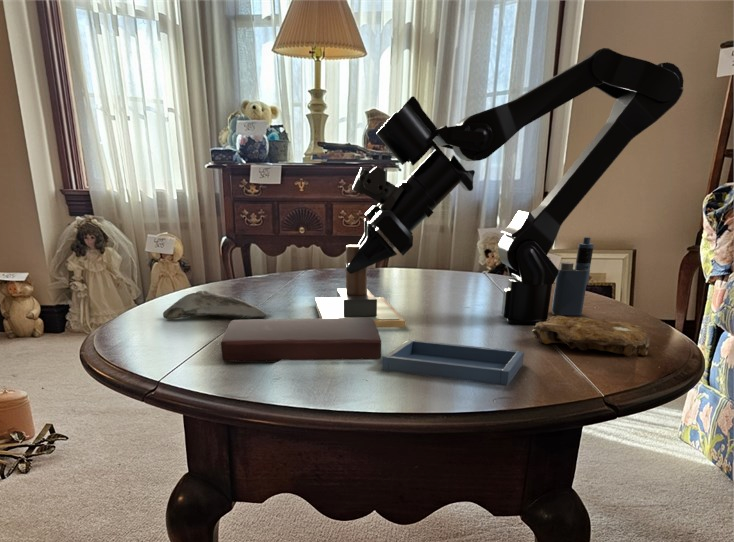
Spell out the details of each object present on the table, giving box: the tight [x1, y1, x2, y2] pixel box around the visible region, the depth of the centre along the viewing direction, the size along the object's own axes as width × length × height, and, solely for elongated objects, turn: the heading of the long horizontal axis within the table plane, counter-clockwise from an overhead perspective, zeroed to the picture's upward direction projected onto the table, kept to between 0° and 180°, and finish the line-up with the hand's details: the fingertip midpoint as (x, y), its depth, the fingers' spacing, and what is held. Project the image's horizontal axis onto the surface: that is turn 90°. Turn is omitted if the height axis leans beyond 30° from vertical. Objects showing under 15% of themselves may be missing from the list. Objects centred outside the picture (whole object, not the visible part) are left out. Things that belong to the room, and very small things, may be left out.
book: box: [220, 317, 382, 363], centre depth 84 cm, size 12×19×3 cm, turn 94°
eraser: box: [336, 244, 377, 317], centre depth 100 cm, size 10×5×10 cm, turn 7°
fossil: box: [162, 290, 267, 320], centre depth 105 cm, size 11×5×15 cm
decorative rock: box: [531, 315, 651, 357], centre depth 87 cm, size 11×4×15 cm
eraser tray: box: [381, 339, 525, 386], centre depth 77 cm, size 15×10×2 cm, turn 67°
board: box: [314, 296, 406, 329], centre depth 105 cm, size 20×12×2 cm, turn 7°
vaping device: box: [551, 237, 595, 317], centre depth 107 cm, size 3×5×12 cm, turn 89°
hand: (347, 269), depth 100 cm, fingers closed on eraser, 3 cm apart
